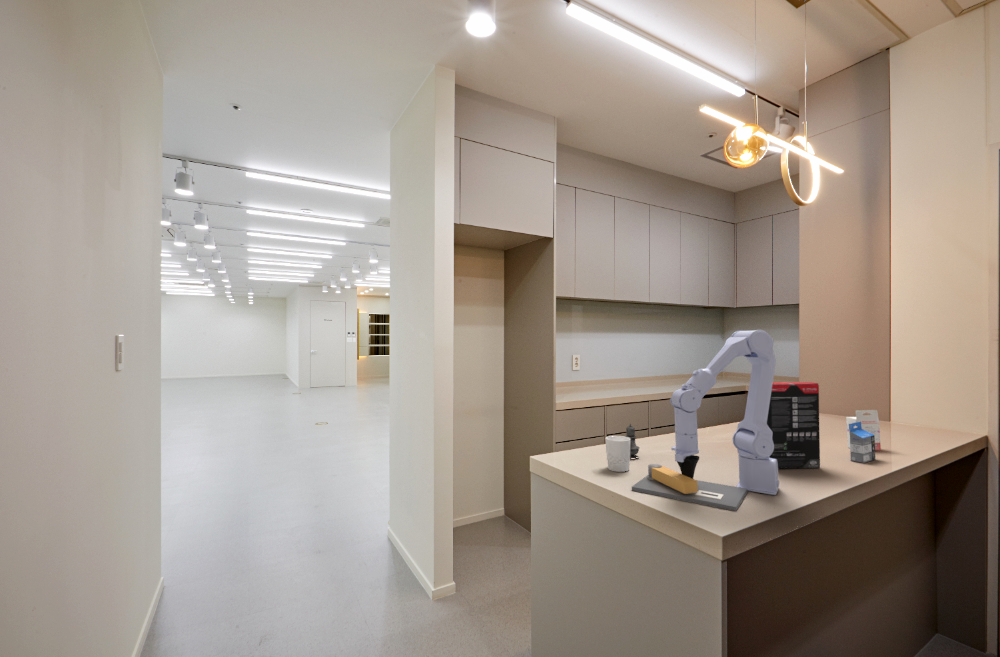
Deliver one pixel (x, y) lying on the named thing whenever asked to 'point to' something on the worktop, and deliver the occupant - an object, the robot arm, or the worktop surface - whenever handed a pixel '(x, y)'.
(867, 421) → the ink cartridge box
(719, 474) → the worktop surface
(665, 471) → the swing bar
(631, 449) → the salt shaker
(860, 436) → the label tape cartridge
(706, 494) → the label board
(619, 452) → the white cup
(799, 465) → the graphics card box
